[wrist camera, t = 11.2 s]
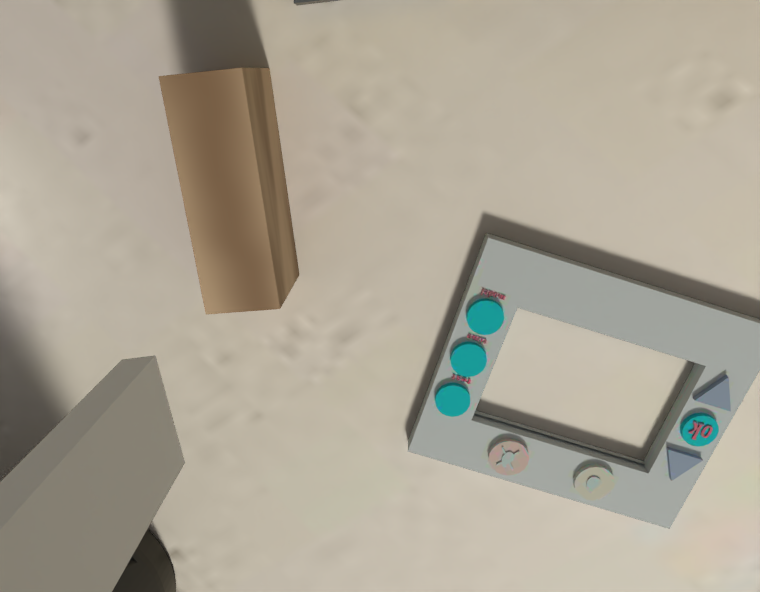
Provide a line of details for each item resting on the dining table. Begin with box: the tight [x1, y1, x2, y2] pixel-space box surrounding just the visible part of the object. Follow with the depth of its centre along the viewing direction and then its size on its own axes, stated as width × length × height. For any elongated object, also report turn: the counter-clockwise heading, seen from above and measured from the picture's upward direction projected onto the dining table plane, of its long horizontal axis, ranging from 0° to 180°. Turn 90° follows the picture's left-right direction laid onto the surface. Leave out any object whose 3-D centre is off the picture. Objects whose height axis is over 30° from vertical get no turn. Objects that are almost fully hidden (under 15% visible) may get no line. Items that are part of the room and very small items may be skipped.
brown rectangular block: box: [159, 68, 299, 314], centre depth 35 cm, size 4×12×6 cm, turn 6°
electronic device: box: [408, 233, 760, 529], centre depth 40 cm, size 18×2×15 cm
